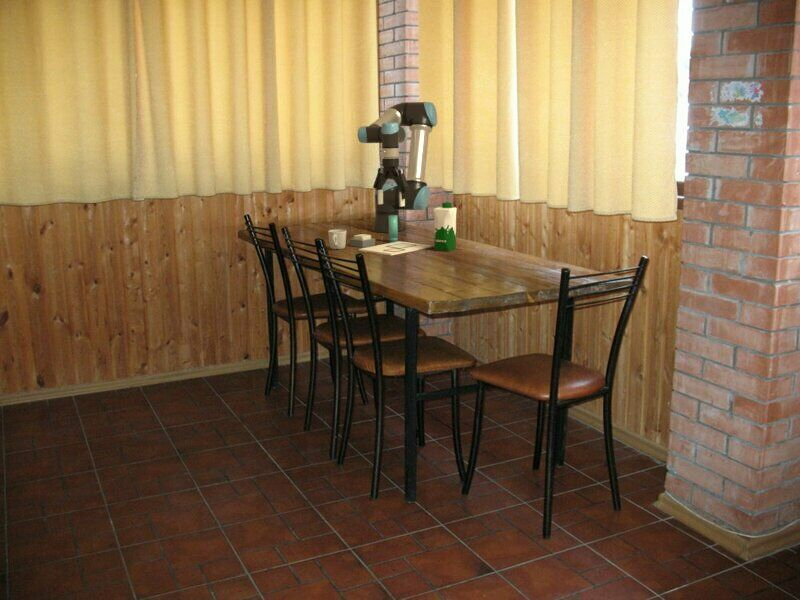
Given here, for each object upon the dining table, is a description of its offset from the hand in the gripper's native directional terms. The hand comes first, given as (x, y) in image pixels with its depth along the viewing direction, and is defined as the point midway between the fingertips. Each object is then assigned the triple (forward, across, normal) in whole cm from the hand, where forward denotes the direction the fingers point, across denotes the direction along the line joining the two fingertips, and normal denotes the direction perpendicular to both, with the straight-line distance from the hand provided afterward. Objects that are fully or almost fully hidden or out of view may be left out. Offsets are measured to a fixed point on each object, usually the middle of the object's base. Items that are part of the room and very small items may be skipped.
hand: (391, 205), depth 394 cm
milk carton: (+17, +32, -1) cm, 37 cm away
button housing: (+17, -3, -16) cm, 23 cm away
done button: (+15, -3, -15) cm, 22 cm away
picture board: (+17, +15, -13) cm, 26 cm away
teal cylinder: (+17, 0, +1) cm, 17 cm away
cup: (+17, -5, -30) cm, 34 cm away
